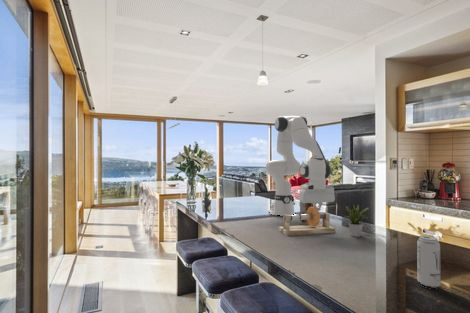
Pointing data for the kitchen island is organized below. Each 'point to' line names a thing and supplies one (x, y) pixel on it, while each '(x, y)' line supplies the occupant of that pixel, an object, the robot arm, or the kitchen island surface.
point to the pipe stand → (306, 227)
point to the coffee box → (304, 210)
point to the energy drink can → (428, 261)
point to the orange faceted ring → (316, 216)
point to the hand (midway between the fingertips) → (317, 210)
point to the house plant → (355, 221)
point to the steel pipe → (305, 216)
